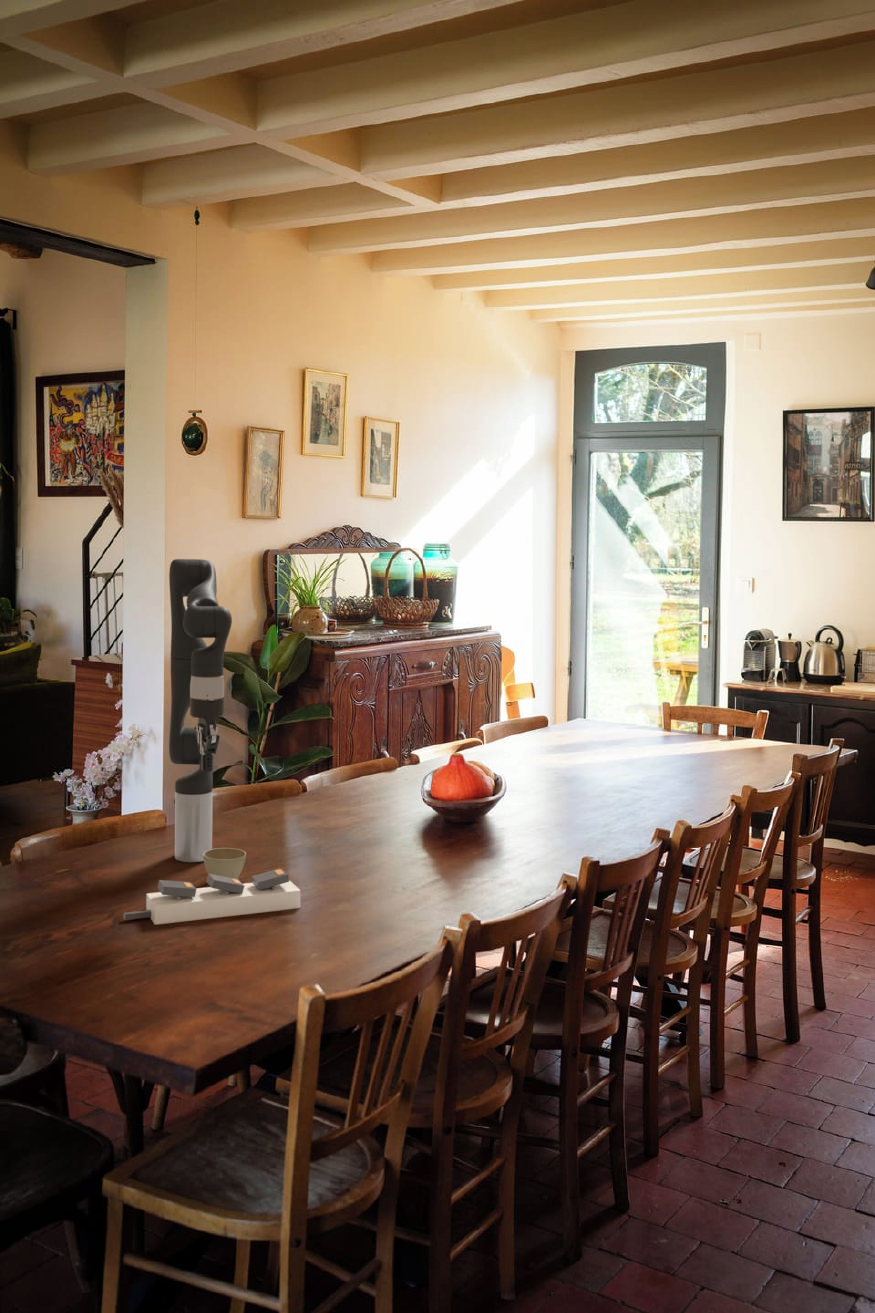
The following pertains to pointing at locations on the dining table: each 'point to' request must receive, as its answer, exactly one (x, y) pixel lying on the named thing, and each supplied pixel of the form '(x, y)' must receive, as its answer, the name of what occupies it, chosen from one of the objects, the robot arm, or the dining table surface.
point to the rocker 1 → (176, 888)
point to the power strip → (218, 903)
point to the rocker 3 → (270, 879)
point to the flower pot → (224, 862)
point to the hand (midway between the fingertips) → (206, 770)
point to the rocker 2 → (225, 883)
